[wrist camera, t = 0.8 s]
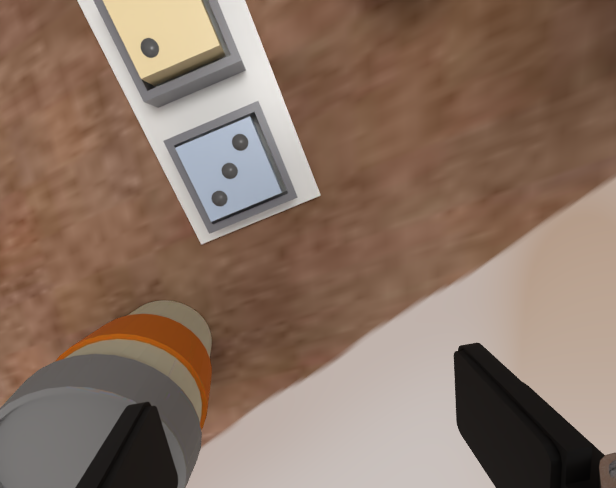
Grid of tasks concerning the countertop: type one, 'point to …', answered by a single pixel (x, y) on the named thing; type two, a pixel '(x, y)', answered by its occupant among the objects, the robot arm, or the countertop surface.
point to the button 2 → (165, 36)
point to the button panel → (213, 111)
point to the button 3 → (229, 169)
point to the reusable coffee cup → (109, 396)
